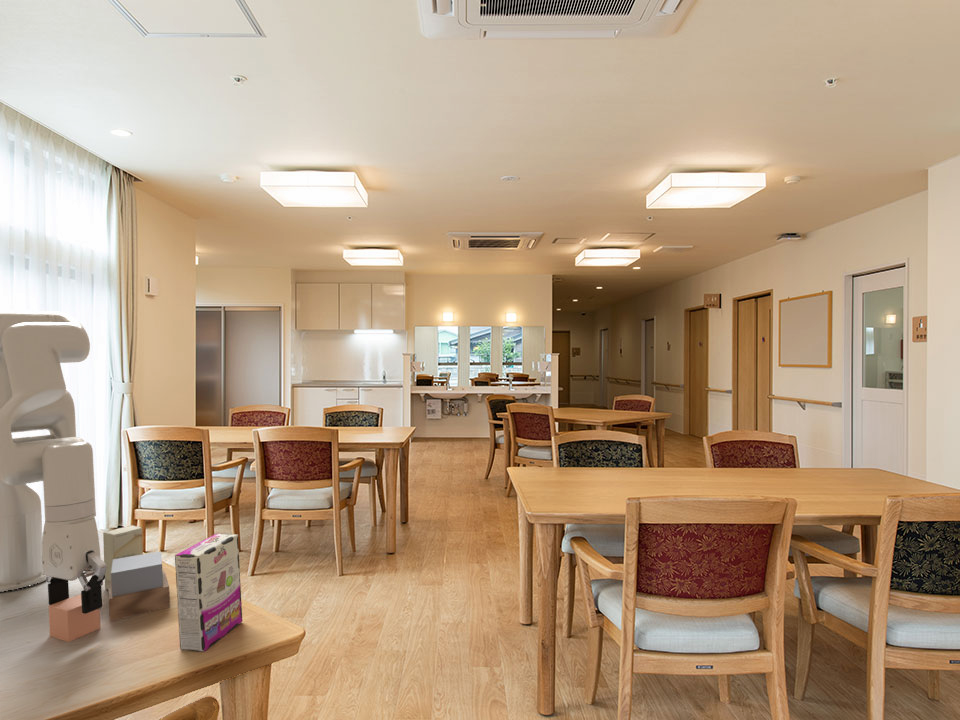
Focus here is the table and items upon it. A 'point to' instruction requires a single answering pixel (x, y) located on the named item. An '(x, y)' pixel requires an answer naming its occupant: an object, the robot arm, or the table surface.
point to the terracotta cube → (72, 619)
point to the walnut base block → (139, 601)
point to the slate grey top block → (136, 573)
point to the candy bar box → (208, 591)
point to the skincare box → (121, 546)
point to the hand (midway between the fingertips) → (75, 606)
